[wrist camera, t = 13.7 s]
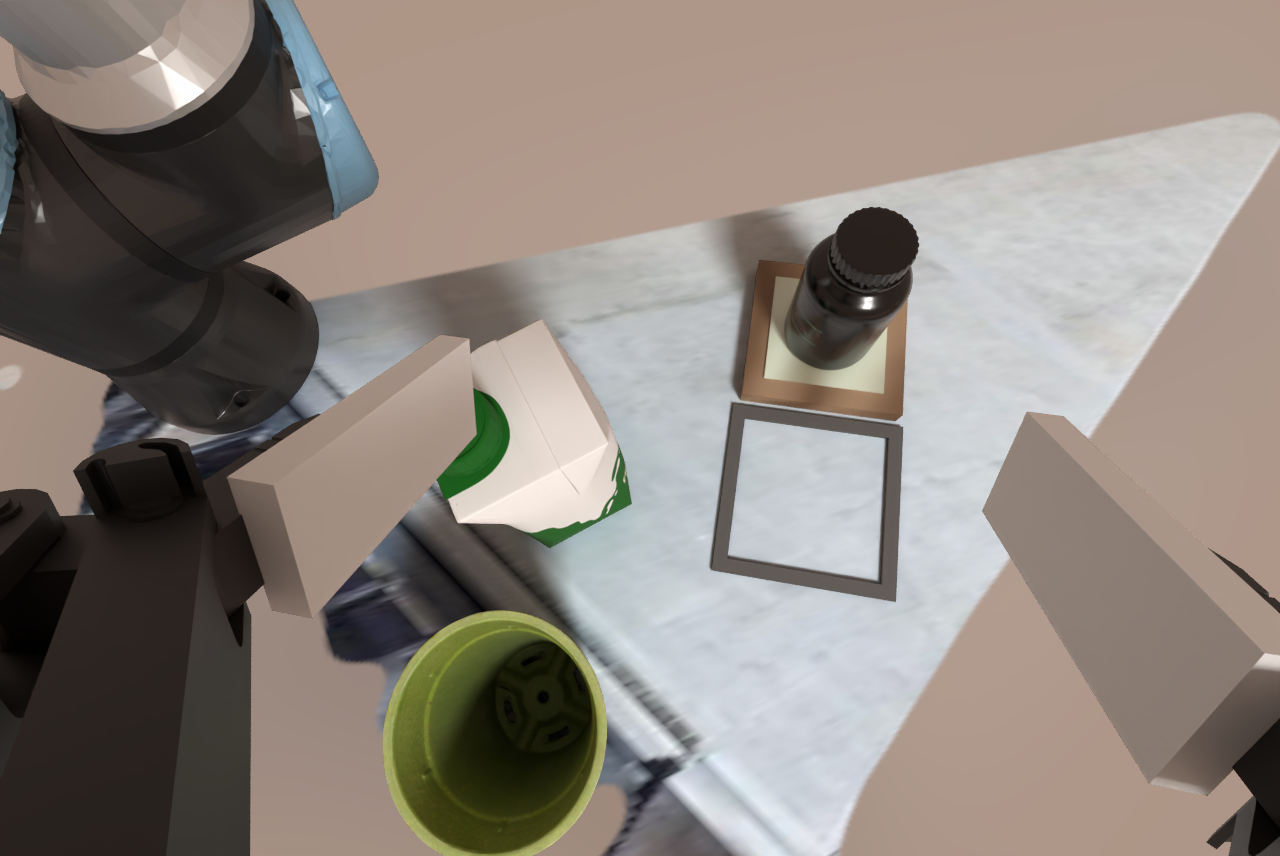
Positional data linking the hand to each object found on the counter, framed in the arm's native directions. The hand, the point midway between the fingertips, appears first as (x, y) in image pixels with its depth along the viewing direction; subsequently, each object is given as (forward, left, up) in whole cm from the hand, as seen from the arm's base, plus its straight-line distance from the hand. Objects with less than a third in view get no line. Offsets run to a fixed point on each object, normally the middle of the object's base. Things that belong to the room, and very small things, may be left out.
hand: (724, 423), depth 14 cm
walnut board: (+8, +18, -30) cm, 35 cm away
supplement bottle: (+8, +18, -28) cm, 34 cm away
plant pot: (-9, -12, -30) cm, 34 cm away
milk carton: (-10, +3, -30) cm, 32 cm away
